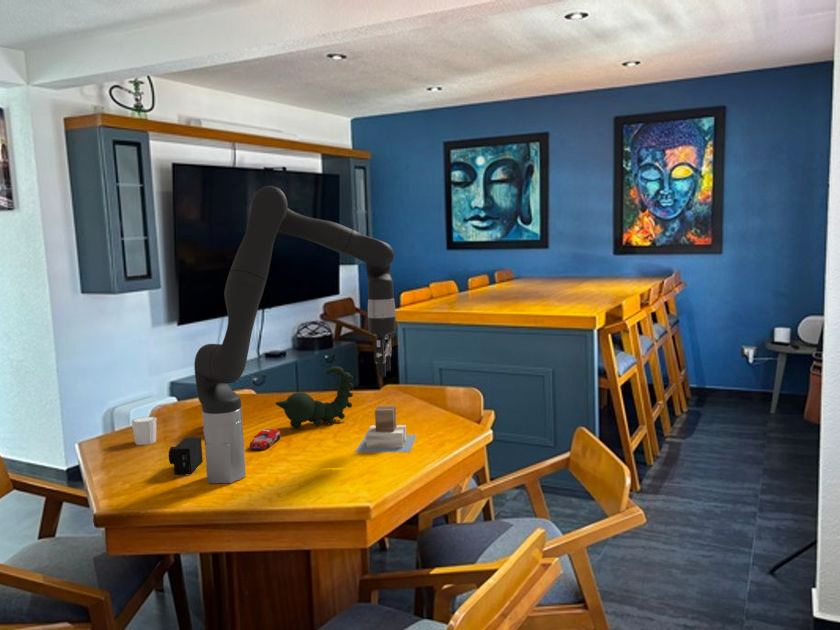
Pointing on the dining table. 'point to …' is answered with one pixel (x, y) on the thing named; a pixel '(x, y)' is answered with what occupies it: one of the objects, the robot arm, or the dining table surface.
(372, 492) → the dining table surface
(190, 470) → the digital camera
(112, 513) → the dining table surface
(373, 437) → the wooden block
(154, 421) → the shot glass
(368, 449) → the mat
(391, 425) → the walnut block
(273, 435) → the race car
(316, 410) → the toy figurine
